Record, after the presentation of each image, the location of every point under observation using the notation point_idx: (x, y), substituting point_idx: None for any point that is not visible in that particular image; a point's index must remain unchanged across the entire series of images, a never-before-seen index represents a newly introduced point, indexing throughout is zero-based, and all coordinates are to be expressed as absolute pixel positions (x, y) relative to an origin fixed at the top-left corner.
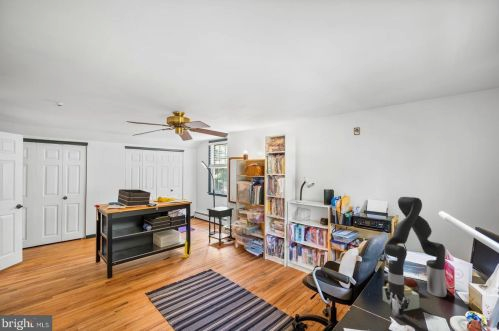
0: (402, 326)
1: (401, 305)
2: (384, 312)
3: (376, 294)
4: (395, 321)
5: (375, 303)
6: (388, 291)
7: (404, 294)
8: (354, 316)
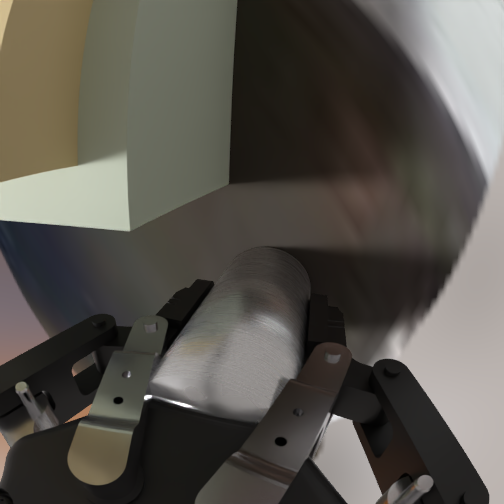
0: None
1: (301, 362)
2: None
3: None
4: None
5: (83, 292)
6: (48, 426)
7: (82, 31)
8: None
